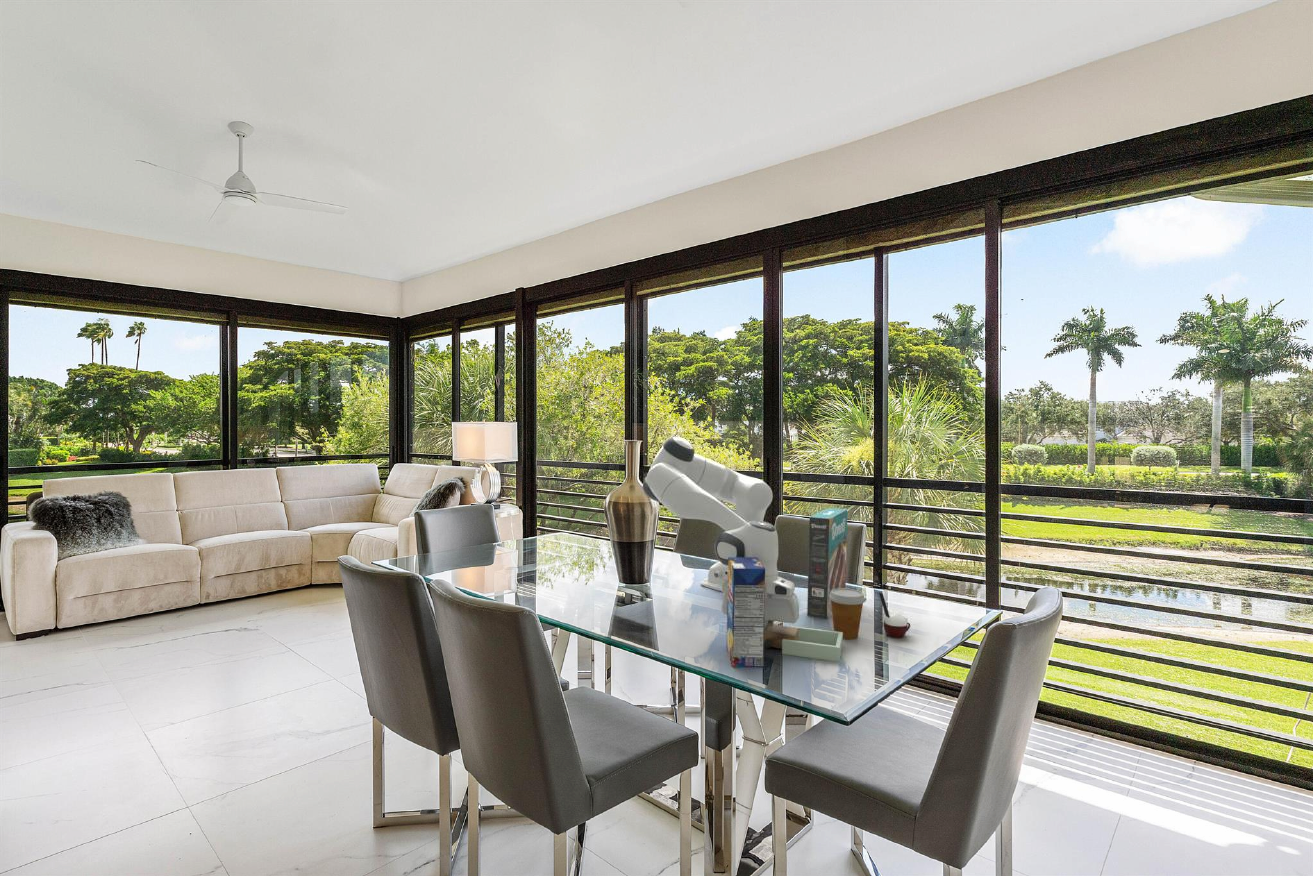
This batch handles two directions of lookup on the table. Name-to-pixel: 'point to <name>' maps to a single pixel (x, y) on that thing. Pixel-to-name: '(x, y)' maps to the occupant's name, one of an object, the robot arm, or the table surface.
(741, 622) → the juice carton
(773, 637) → the cart
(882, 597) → the cocoa
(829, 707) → the table surface
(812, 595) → the cake mix box
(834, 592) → the disposable coffee cup
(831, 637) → the bay
